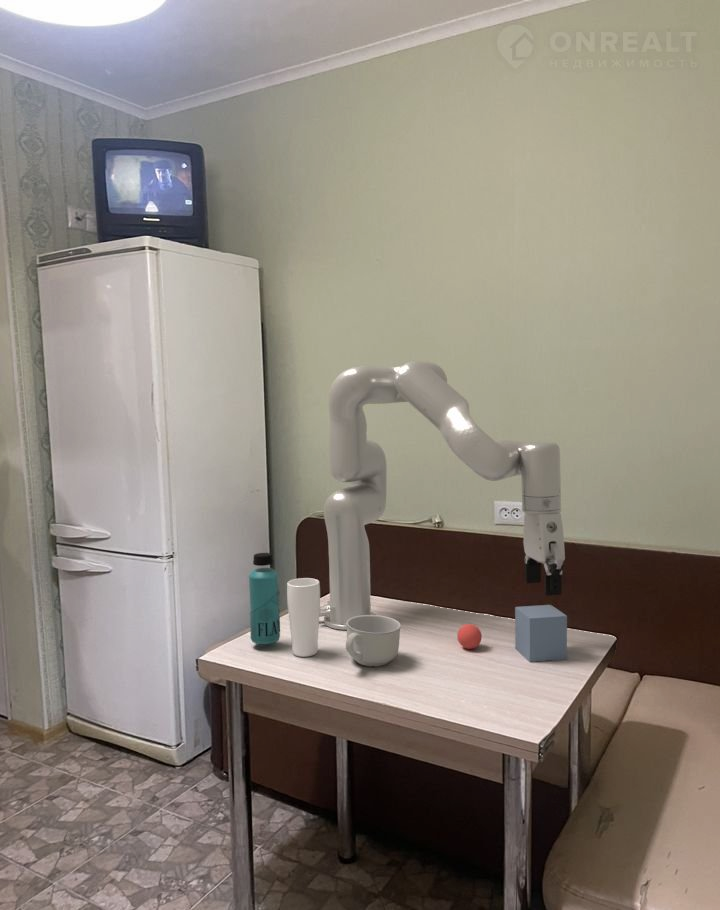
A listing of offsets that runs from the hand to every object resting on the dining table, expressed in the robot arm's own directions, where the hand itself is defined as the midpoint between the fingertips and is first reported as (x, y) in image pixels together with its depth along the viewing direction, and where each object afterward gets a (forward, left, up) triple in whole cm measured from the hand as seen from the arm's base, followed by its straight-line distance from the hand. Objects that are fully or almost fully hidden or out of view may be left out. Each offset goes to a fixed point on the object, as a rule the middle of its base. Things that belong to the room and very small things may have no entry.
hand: (543, 588), depth 140 cm
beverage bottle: (-55, +16, -14) cm, 59 cm away
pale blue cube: (0, 0, -14) cm, 14 cm away
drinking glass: (-47, +10, -14) cm, 50 cm away
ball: (-13, +6, -11) cm, 19 cm away
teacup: (-35, +2, -14) cm, 38 cm away
